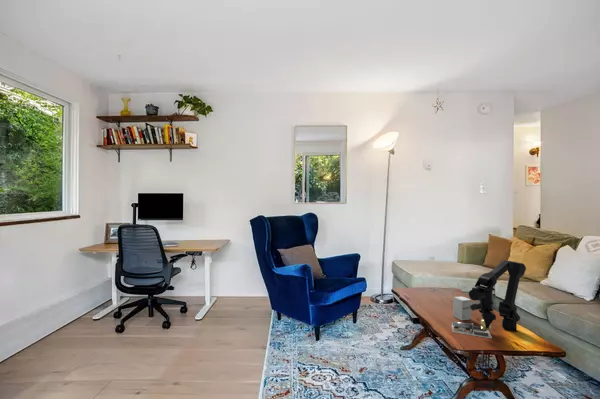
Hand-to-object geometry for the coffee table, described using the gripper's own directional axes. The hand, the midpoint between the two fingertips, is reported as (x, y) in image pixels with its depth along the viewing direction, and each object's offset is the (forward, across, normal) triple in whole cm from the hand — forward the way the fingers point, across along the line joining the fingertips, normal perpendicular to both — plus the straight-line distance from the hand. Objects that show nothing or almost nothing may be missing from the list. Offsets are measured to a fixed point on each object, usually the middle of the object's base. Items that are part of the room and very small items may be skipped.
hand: (486, 326), depth 171 cm
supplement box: (+4, -20, -10) cm, 23 cm away
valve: (+1, 0, 0) cm, 1 cm away
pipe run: (+4, 0, -8) cm, 9 cm away
